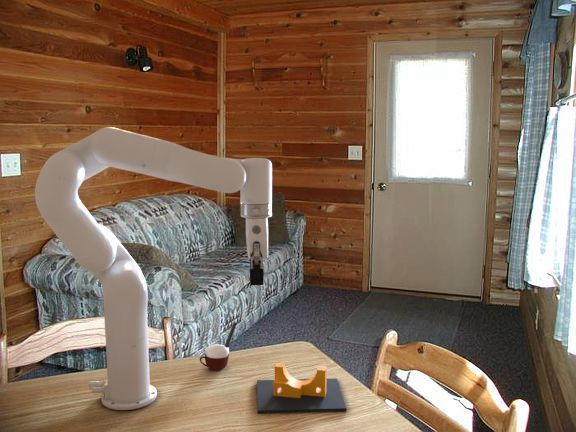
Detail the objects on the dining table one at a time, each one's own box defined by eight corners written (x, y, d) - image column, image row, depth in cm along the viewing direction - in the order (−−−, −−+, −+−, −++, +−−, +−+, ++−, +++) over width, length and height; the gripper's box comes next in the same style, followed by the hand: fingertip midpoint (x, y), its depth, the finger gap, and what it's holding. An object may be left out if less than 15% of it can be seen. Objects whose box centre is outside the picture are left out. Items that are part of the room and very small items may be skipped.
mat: (257, 413, 138) (257, 410, 138) (257, 383, 154) (257, 380, 154) (346, 411, 140) (346, 408, 139) (336, 381, 155) (337, 378, 155)
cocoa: (199, 372, 160) (198, 328, 158) (202, 362, 167) (201, 319, 165) (235, 372, 160) (235, 328, 158) (237, 363, 167) (237, 320, 165)
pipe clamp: (273, 395, 146) (273, 369, 145) (277, 387, 150) (277, 362, 149) (323, 400, 143) (324, 373, 142) (326, 392, 148) (326, 366, 146)
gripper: (273, 215, 140) (273, 289, 143) (270, 204, 157) (270, 270, 160) (239, 216, 139) (240, 289, 142) (241, 204, 156) (241, 270, 159)
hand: (256, 279), depth 151 cm, fingers open, 9 cm apart
